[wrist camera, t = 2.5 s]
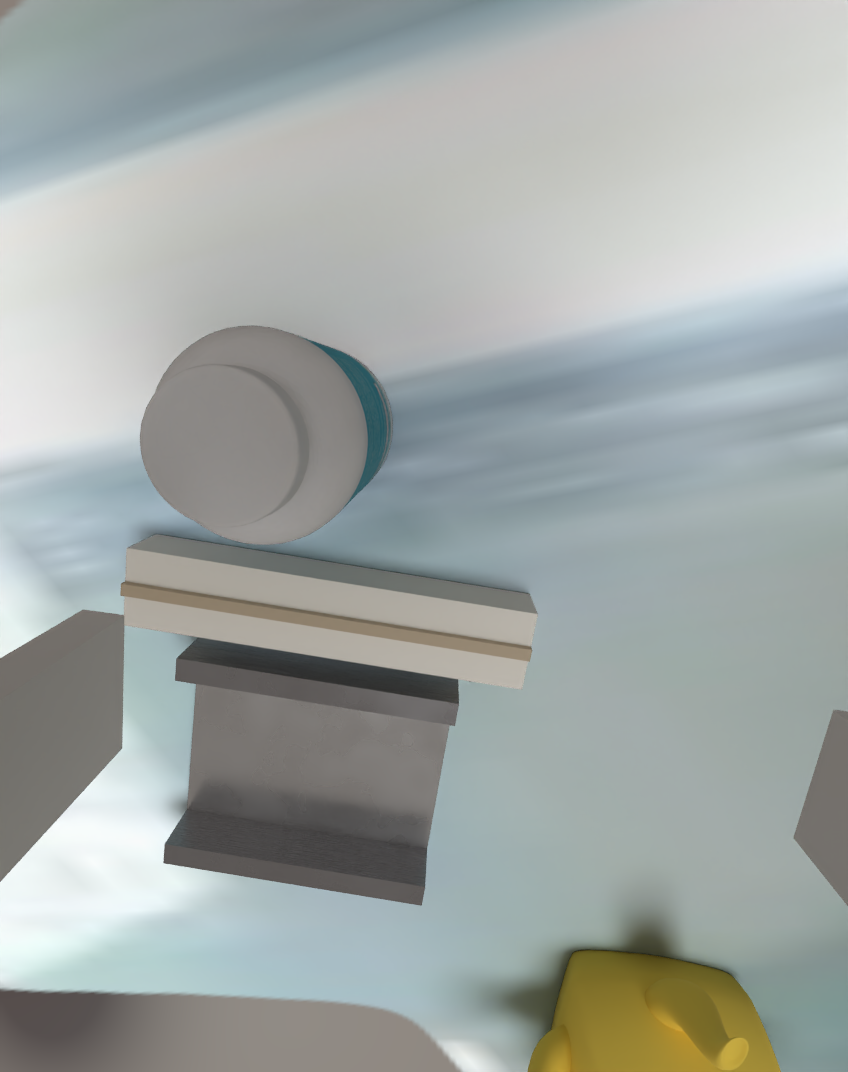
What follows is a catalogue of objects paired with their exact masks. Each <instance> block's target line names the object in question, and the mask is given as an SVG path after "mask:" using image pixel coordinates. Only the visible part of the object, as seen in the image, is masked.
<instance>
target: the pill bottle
mask: <svg viewBox="0 0 848 1072" xmlns="http://www.w3.org/2000/svg"><path fill="white" fill-rule="evenodd" d="M392 433H393V420H392V413H391V408H390V404H389V401H388V398H387V396H386V393H385V391H384V389H383V387H382V386H381V384H380V382H379V381H378V379H377V378H376V377H375V376H374V374H373V373H372V372H371V371H370V370H369V369H368V368H367V367H366V366H364V365H363V364H362V363H361V362H360V361H358V360H357V359H355V358H353V357H352V356H350V355H348V354H346V353H343V352H341V351H339V350H336V349H333V348H330V347H328V346H325V345H322V344H319V343H317V342H314V341H311V340H308V339H305V338H303V337H300V336H297V335H294V334H291V333H288V332H285V331H282V330H278V329H274V328H270V327H262V326H238V327H232V328H227V329H223V330H220V331H216V332H214V333H211V334H209V335H207V336H205V337H203V338H201V339H200V340H198V341H197V342H195V343H194V344H192V345H191V346H189V347H188V348H187V349H186V350H184V351H183V352H182V353H181V354H180V355H179V356H178V357H177V358H176V359H175V360H174V361H173V362H172V364H171V365H170V366H169V368H168V369H167V371H166V372H165V373H164V375H163V377H162V379H161V381H160V382H159V385H158V387H157V389H156V392H155V394H154V396H153V397H152V399H151V401H150V402H149V404H148V406H147V408H146V410H145V413H144V416H143V420H142V423H141V432H140V446H141V454H142V458H143V462H144V466H145V469H146V471H147V474H148V476H149V478H150V480H151V481H152V483H153V485H154V487H155V488H156V490H157V491H158V492H159V494H160V495H161V496H162V497H163V498H164V499H165V501H167V502H168V503H169V504H170V505H171V506H172V507H173V508H174V509H176V510H177V511H178V512H180V513H181V514H183V515H184V516H186V517H188V518H190V519H192V520H194V521H196V522H197V523H198V524H200V525H201V526H203V527H204V528H206V529H208V530H209V531H211V532H213V533H215V534H217V535H220V536H222V537H224V538H227V539H230V540H233V541H237V542H242V543H247V544H257V545H271V544H281V543H286V542H290V541H293V540H296V539H299V538H302V537H305V536H307V535H309V534H311V533H313V532H314V531H316V530H318V529H319V528H321V527H322V526H324V525H325V524H326V523H328V522H329V521H330V520H331V519H332V518H334V517H335V516H336V515H337V514H338V513H339V512H340V511H341V510H342V509H343V508H344V507H345V506H346V505H347V504H348V503H349V502H350V501H351V500H352V499H353V498H354V497H355V496H356V495H357V494H358V493H359V492H360V491H361V490H362V489H363V488H364V487H365V486H366V485H367V484H368V483H369V482H370V481H371V480H372V479H373V477H374V476H375V475H376V474H377V472H378V471H379V470H380V468H381V467H382V465H383V463H384V461H385V459H386V457H387V455H388V452H389V449H390V445H391V440H392Z"/></svg>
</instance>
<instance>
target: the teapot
mask: <svg viewBox="0 0 848 1072" xmlns="http://www.w3.org/2000/svg"><path fill="white" fill-rule="evenodd" d="M528 1072H781V1071H780V1068H779V1065H778V1062H777V1059H776V1057H775V1054H774V1051H773V1049H772V1046H771V1044H770V1041H769V1039H768V1036H767V1034H766V1031H765V1029H764V1027H763V1024H762V1022H761V1020H760V1018H759V1015H758V1013H757V1011H756V1009H755V1007H754V1005H753V1003H752V1001H751V999H750V998H749V996H748V995H747V993H746V992H745V991H744V989H743V988H742V987H741V986H740V984H739V983H738V982H737V981H736V980H735V979H734V977H733V976H731V975H730V974H728V973H726V972H724V971H721V970H718V969H714V968H711V967H707V966H703V965H699V964H694V963H690V962H685V961H681V960H676V959H672V958H667V957H661V956H655V955H647V954H639V953H628V952H617V951H604V950H580V951H576V952H574V953H572V955H571V957H570V959H569V962H568V965H567V968H566V971H565V975H564V978H563V982H562V985H561V989H560V993H559V997H558V1000H557V1005H556V1009H555V1013H554V1018H553V1023H552V1028H551V1031H549V1032H548V1033H547V1034H546V1035H545V1036H544V1037H543V1038H542V1039H541V1040H540V1041H539V1042H538V1044H537V1046H536V1048H535V1050H534V1051H533V1053H532V1056H531V1060H530V1064H529V1067H528Z"/></svg>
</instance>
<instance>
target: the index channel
mask: <svg viewBox="0 0 848 1072" xmlns="http://www.w3.org/2000/svg"><path fill="white" fill-rule="evenodd" d="M175 681H181V682H187V683H194V684H196V694H195V708H194V722H193V735H192V749H191V763H190V777H189V791H188V804H187V810H186V812H185V813H184V815H183V816H182V818H181V820H180V821H179V823H178V824H177V826H176V827H175V829H174V831H173V832H172V834H171V835H170V837H169V838H168V840H167V842H166V843H165V849H164V863H166V864H172V865H178V866H184V867H190V868H196V869H202V870H209V871H215V872H221V873H227V874H233V875H239V876H245V877H251V878H257V879H263V880H269V881H276V882H282V883H288V884H294V885H300V886H306V887H312V888H318V889H324V890H330V891H336V892H342V893H349V894H355V895H361V896H367V897H373V898H379V899H385V900H391V901H397V902H403V903H409V904H416V905H422V900H423V895H424V890H425V877H426V858H427V846H428V840H429V835H430V829H431V824H432V818H433V813H434V807H435V802H436V796H437V791H438V785H439V780H440V774H441V769H442V763H443V758H444V752H445V747H446V742H447V736H448V731H449V725H452V726H455V722H456V717H457V711H458V706H459V692H458V679H454V678H447V677H441V676H435V675H429V674H423V673H416V672H410V671H404V670H398V669H392V668H386V667H379V666H373V665H367V664H361V663H355V662H348V661H342V660H336V659H330V658H324V657H318V656H311V655H305V654H299V653H293V652H287V651H280V650H274V649H268V648H262V647H256V646H250V645H243V644H237V643H231V642H225V641H219V640H212V639H206V638H200V637H198V638H197V639H196V640H195V641H194V642H193V643H192V644H191V645H190V646H189V647H188V648H187V649H186V650H185V651H184V652H183V653H182V654H181V655H180V656H178V657H177V659H176V675H175Z"/></svg>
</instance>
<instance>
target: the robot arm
mask: <svg viewBox="0 0 848 1072" xmlns="http://www.w3.org/2000/svg"><path fill="white" fill-rule="evenodd" d="M123 670H124V615H119V614H112V613H104V612H97V611H89V610H82V611H80V612H78V613H77V614H75V615H73V616H72V617H70V618H68V619H66V620H65V621H63V622H61V623H60V624H58V625H56V626H55V627H53V628H51V629H49V630H48V631H46V632H44V633H43V634H41V635H39V636H38V637H36V638H34V639H33V640H31V641H29V642H27V643H26V644H24V645H22V646H21V647H19V648H17V649H16V650H14V651H12V652H11V653H9V654H7V655H5V656H4V657H2V658H0V882H1V880H2V879H3V878H4V877H5V876H6V875H7V874H8V873H9V872H10V871H11V869H12V868H13V867H14V866H15V865H16V864H17V863H18V862H19V861H20V860H21V859H22V857H23V856H24V855H25V854H26V853H27V852H28V851H29V850H30V849H31V848H32V846H33V845H34V844H35V843H36V842H37V841H38V840H39V839H40V838H41V837H42V836H43V834H44V833H45V832H46V831H47V830H48V829H49V828H50V827H51V826H52V825H53V823H54V822H55V821H56V820H57V819H58V818H59V817H60V816H61V815H62V814H63V813H64V811H65V810H66V809H67V808H68V807H69V806H70V805H71V804H72V803H73V802H74V800H75V799H76V798H77V797H78V796H79V795H80V794H81V793H82V792H83V791H84V790H85V788H86V787H87V786H88V785H89V784H90V783H91V782H92V781H93V780H94V779H95V777H96V776H97V775H98V774H99V773H100V772H101V771H102V770H103V769H104V768H105V767H106V765H107V764H108V763H109V762H110V761H111V760H112V759H113V758H114V757H115V756H116V754H117V753H118V752H119V751H120V750H121V749H122V727H123ZM794 839H795V840H796V842H797V843H798V844H799V845H800V847H801V848H802V849H803V850H804V852H805V853H806V854H807V855H808V857H809V858H810V859H811V860H812V862H813V863H814V864H815V865H816V867H817V868H818V869H819V870H820V872H821V873H822V874H823V875H824V877H825V878H826V879H827V880H828V882H829V883H830V884H831V886H832V887H833V888H834V889H835V891H836V892H837V893H838V894H839V896H840V897H841V898H842V899H843V901H844V902H845V903H846V904H847V906H848V712H847V711H840V710H833V713H832V716H831V719H830V723H829V726H828V729H827V732H826V735H825V739H824V742H823V745H822V748H821V751H820V755H819V758H818V761H817V764H816V767H815V771H814V774H813V777H812V780H811V783H810V787H809V790H808V793H807V796H806V799H805V803H804V806H803V809H802V812H801V815H800V818H799V822H798V825H797V828H796V831H795V834H794Z"/></svg>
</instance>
